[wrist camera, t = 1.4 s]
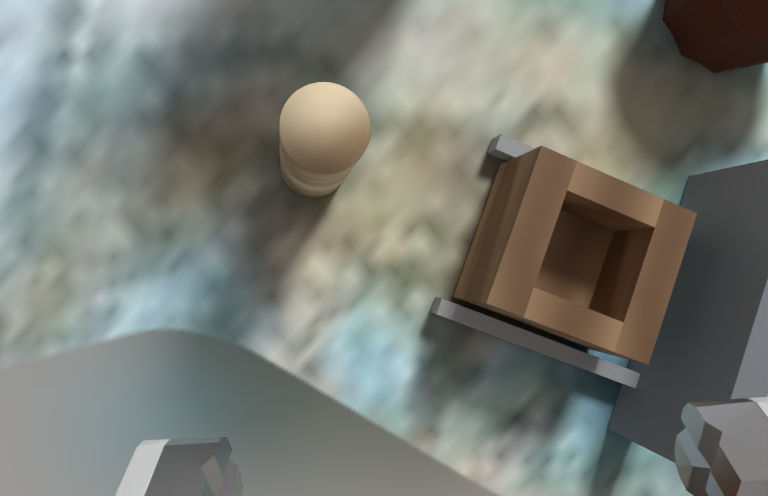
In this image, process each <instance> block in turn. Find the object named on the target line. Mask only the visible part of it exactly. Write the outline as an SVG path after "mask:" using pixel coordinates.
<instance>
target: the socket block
mask: <svg viewBox="0 0 768 496" xmlns="http://www.w3.org/2000/svg"><path fill="white" fill-rule="evenodd" d="M696 215H697V213H695V212H692V211H690V210H688V209H685V208H683V207H681V206H679V205H676V204H674V203H672V202H669V201H667V200H665V199H662V198H660V197H658V196H656V195H653V194H651V193H649V192H646V191H644V190H642V189H640V188H637V187H635V186H633V185H630V184H628V183H626V182H624V181H621V180H619V179H617V178H614V177H612V176H610V175H607V174H605V173H603V172H601V171H598V170H596V169H594V168H591V167H589V166H587V165H585V164H582V163H580V162H578V161H575V160H573V159H571V158H568V157H566V156H564V155H562V154H559V153H557V152H555V151H552V150H550V149H548V148H546V147H543V146H540V147H538V148H536V149H534V150H531V151H529V152H527V153H525V154H522V155H520V156H518V157H516V158H514V159H511V160H509V161H507V162H505V163H502V164H500V166H499V169H498V172H497V175H496V178H495V180H494V183H493V186H492V189H491V192H490V194H489V197H488V200H487V203H486V206H485V208H484V211H483V214H482V217H481V220H480V222H479V225H478V228H477V231H476V234H475V236H474V239H473V242H472V245H471V248H470V250H469V253H468V256H467V259H466V262H465V264H464V267H463V270H462V273H461V276H460V278H459V281H458V284H457V287H456V290H455V293H454V295H453V297H455V298H457V299H460V300H463V301H465V302H468V303H471V304H473V305H476V306H478V307H481V308H484V309H486V310H489V311H492V312H494V313H497V314H500V315H502V316H505V317H507V318H510V319H513V320H515V321H518V322H521V323H523V324H526V325H529V326H531V327H534V328H536V329H539V330H542V331H544V332H547V333H550V334H552V335H555V336H557V337H560V338H563V339H565V340H568V341H571V342H573V343H576V344H579V345H581V346H584V347H586V348H589V349H592V350H596V351H599V352H603V353H607V354H610V355H614V356H617V357H621V358H625V359H628V360H632V361H636V362H639V363H643V364H647V365H649V362H650V358H651V355H652V352H653V349H654V346H655V343H656V340H657V337H658V334H659V330H660V327H661V324H662V321H663V318H664V315H665V312H666V309H667V306H668V302H669V299H670V296H671V293H672V290H673V287H674V284H675V281H676V278H677V275H678V271H679V268H680V265H681V262H682V259H683V256H684V253H685V250H686V247H687V243H688V240H689V237H690V234H691V231H692V228H693V225H694V222H695V219H696Z"/></svg>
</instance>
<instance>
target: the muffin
mask: <svg viewBox="0 0 768 496" xmlns="http://www.w3.org/2000/svg"><path fill="white" fill-rule="evenodd" d="M663 21H664V22H665V24H666V26H667V27H668V29H669V30H670V32H671V33H672V35H673V36H674V39H675V41H676V43H677V46H678V48H679V50H680V53H681V55H682V56H685V57H687V58H689V59H692V60H694V61H696V62H699V63H700V64H702V65H703V66H705V67H706V68H708V69H709V70H710V71H712V72H713V73H716V72H721V71H725V70H729V69H733V68H738V67H749V66H753V65H758V64H762V63H766V62H768V0H666V2H665V9H664V15H663Z"/></svg>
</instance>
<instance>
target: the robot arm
mask: <svg viewBox="0 0 768 496" xmlns="http://www.w3.org/2000/svg"><path fill="white" fill-rule="evenodd" d="M681 419H682V421H683V423H684V425H685V427H686V428H685V429H684V430H683V431H681V432H680V433H679V434H678V435H677V436H676V442H675V447H674V451H675V460H676V466H677V469H678V472H679V475H680V478H681V480H682V482H683V484H684V486H685V488H686V490H687V491H688V492H689V493H691V494H692V495H694V496H768V397H758V398H748V399H745V398H740V399H728V400H716V401H704V402H691V403H687V404H686V406H685V407H684V408H683V411H682V415H681ZM231 452H232V448H231V445H230V443H229V441H228V438H227V437H201V438H179V439H164V440H144V441H143V442H142V443H141V444H140V445H139V446H138V447H137V448H136V450H135V452H134V454H133V457H132V459H131V461H130V463H129V465H128V467H127V470H126V472H125V474H124V477H123V479H122V481H121V483H120V485H119V487H118V490H117V492H116V494H115V496H242V491H243V484H242V477H241V473H240V470H239V467H238V465H237V464H235V463H234V462H232V461H231V460H229V459H230V455H231Z"/></svg>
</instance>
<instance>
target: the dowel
mask: <svg viewBox="0 0 768 496" xmlns="http://www.w3.org/2000/svg"><path fill="white" fill-rule="evenodd" d="M279 134H280V171H281V175H282V177H283V180H284V181H285V183H286V184H287V186H288V187H289V188H290V189H291V190H293V191H294V192H295V193H297V194H299V195H301V196H304V197H308V198H320V197H324V196H326V195H328V194H330V193H332V192H333V191H335V190H336V189H337V188H338V187H339V185H340V184H341V183H342V181H343V180H344V179H345V177H346V176H347V175H348V173H349V172H350V171H351V169H352V168H353V167H354V165H355V164H356V163H357V161H358V160H359V159H360V157H361V156H362V155H363V153H364V152H365V150H366V148H367V146H368V143H369V139H370V134H371V124H370V119H369V115H368V112H367V110H366V108H365V106H364V104H363V103H362V101H361V100H360V99H359V98H358V97H357V96H356V95H355V94H354V93H353V92H352V91H350V90H349V89H347V88H345V87H343V86H341V85H338V84H335V83H330V82H316V83H312V84H309V85H306V86H304V87H302V88H300V89H299V90H297V91H296V92H294V93H293V94H292V95H291V96H290V98H289V99H288V100H287V102H286V103H285V105H284V107H283V109H282V112H281V116H280V122H279Z"/></svg>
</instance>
